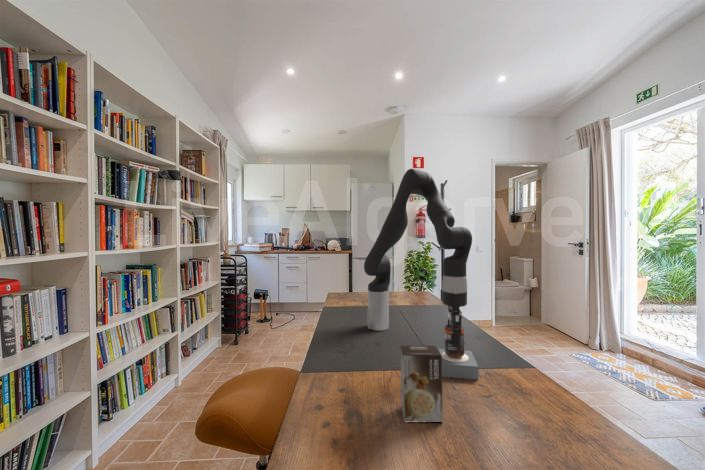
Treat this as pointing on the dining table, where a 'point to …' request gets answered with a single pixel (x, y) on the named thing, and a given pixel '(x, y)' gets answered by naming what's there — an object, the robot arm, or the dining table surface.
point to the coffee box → (421, 383)
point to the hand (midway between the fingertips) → (454, 341)
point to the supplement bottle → (449, 348)
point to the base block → (459, 366)
